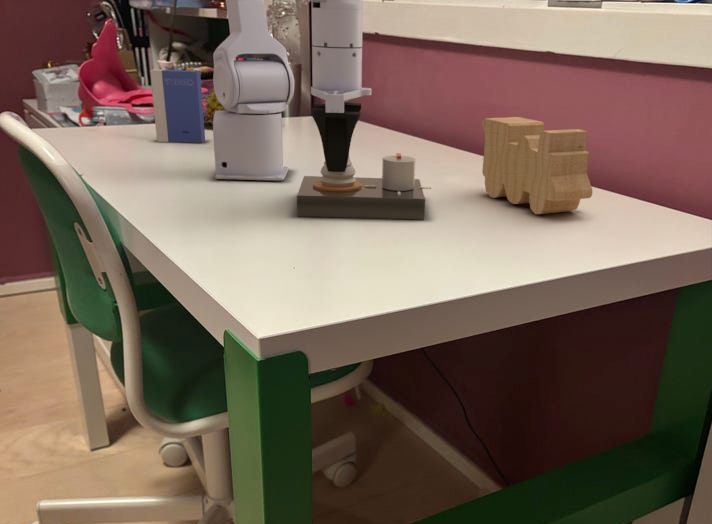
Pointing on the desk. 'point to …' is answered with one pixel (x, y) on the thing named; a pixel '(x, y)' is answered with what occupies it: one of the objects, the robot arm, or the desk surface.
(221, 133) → the robot arm
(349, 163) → the rook chess piece
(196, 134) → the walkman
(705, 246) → the desk surface
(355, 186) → the burner
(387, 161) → the hob knob
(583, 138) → the toy train
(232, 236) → the desk surface
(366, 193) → the hob
